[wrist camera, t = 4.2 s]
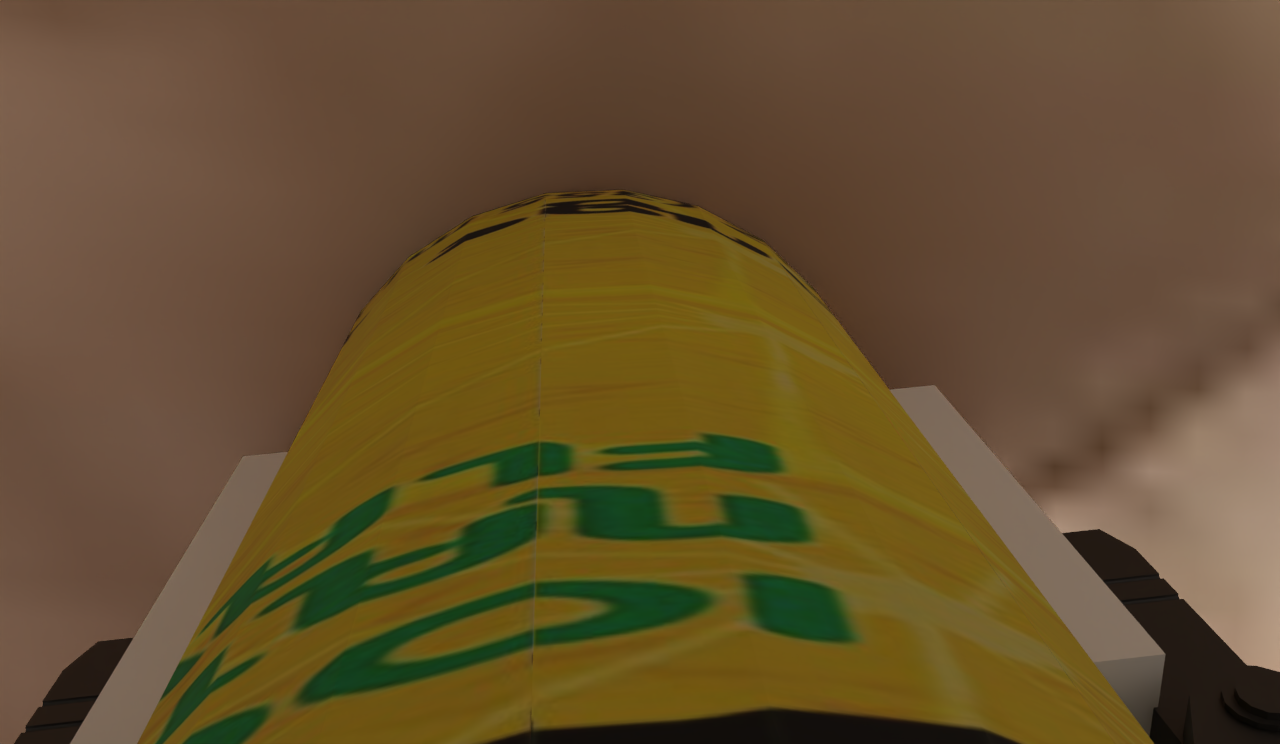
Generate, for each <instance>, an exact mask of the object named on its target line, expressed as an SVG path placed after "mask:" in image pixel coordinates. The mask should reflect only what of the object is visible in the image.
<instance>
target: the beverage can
mask: <svg viewBox="0 0 1280 744" xmlns="http://www.w3.org/2000/svg"><path fill="white" fill-rule="evenodd" d="M137 744H1154V743H1153V741H1152V740H1151V739H1150V737H1149V736H1148V735H1147V733H1146V732H1145V731H1144V729H1143V728H1142V727H1141V725H1140V724H1139V723H1138V721H1137V720H1136V719H1135V717H1134V716H1133V715H1132V713H1131V712H1130V711H1129V709H1128V708H1127V707H1126V705H1125V704H1124V703H1123V701H1122V700H1121V699H1120V697H1119V696H1118V695H1117V693H1116V692H1115V691H1114V689H1113V688H1112V687H1111V685H1110V684H1109V683H1108V681H1107V680H1106V679H1105V677H1104V676H1103V675H1102V673H1101V672H1100V671H1099V669H1098V668H1097V667H1096V665H1095V664H1094V662H1093V661H1092V660H1091V658H1090V657H1089V656H1088V654H1087V653H1086V652H1085V650H1084V649H1083V648H1082V646H1081V645H1080V644H1079V642H1078V641H1077V640H1076V638H1075V637H1074V636H1073V634H1072V633H1071V632H1070V630H1069V629H1068V628H1067V626H1066V625H1065V624H1064V622H1063V621H1062V620H1061V618H1060V617H1059V616H1058V614H1057V613H1056V612H1055V610H1054V609H1053V608H1052V606H1051V605H1050V604H1049V602H1048V601H1047V600H1046V598H1045V597H1044V596H1043V594H1042V593H1041V592H1040V590H1039V589H1038V588H1037V586H1036V585H1035V584H1034V582H1033V581H1032V580H1031V578H1030V577H1029V576H1028V574H1027V573H1026V572H1025V570H1024V569H1023V568H1022V566H1021V565H1020V564H1019V562H1018V561H1017V560H1016V558H1015V557H1014V556H1013V554H1012V553H1011V552H1010V550H1009V549H1008V548H1007V546H1006V545H1005V544H1004V542H1003V541H1002V540H1001V538H1000V537H999V536H998V534H997V533H996V532H995V530H994V529H993V528H992V526H991V525H990V524H989V522H988V521H987V520H986V518H985V517H984V516H983V514H982V513H981V512H980V510H979V509H978V508H977V506H976V505H975V504H974V502H973V501H972V500H971V498H970V497H969V496H968V494H967V493H966V492H965V490H964V489H963V488H962V486H961V485H960V484H959V482H958V481H957V480H956V478H955V477H954V476H953V474H952V473H951V472H950V470H949V469H948V468H947V466H946V465H945V464H944V462H943V461H942V459H941V458H940V457H939V455H938V454H937V453H936V451H935V450H934V449H933V447H932V446H931V445H930V443H929V442H928V441H927V439H926V438H925V437H924V435H923V434H922V433H921V431H920V430H919V429H918V427H917V426H916V425H915V423H914V422H913V421H912V419H911V418H910V417H909V415H908V414H907V413H906V411H905V410H904V409H903V407H902V406H901V405H900V403H899V402H898V401H897V399H896V398H895V397H894V395H893V394H892V393H891V391H890V390H889V389H888V387H887V386H886V385H885V383H884V382H883V381H882V379H881V378H880V377H879V375H878V374H877V373H876V371H875V370H874V369H873V367H872V366H871V365H870V363H869V362H868V361H867V359H866V358H865V357H864V355H863V354H862V353H861V351H860V350H859V349H858V347H857V346H856V345H855V343H854V342H853V341H852V339H851V338H850V337H849V335H848V334H847V333H846V331H845V330H844V329H843V327H842V326H841V325H840V323H839V322H838V321H837V319H836V318H835V317H834V315H833V314H832V313H831V311H830V310H829V309H828V307H827V306H826V305H825V303H824V302H823V301H822V299H821V298H820V297H819V295H818V294H817V293H816V291H815V290H814V289H813V287H811V286H810V285H809V284H808V283H807V282H806V281H805V280H804V279H803V278H802V277H801V276H800V275H799V274H798V273H797V272H796V271H795V270H794V269H793V268H791V267H790V266H789V265H788V264H787V263H786V262H785V261H784V260H783V259H782V258H781V257H780V256H779V255H778V254H777V253H776V252H775V251H774V250H773V249H771V248H770V247H769V246H768V245H767V244H766V243H765V242H764V241H763V240H762V239H760V238H758V237H756V236H754V235H752V234H750V233H748V232H746V231H744V230H742V229H741V228H739V227H737V226H735V225H733V224H731V223H729V222H727V221H725V220H723V219H721V218H720V217H718V216H716V215H714V214H712V213H710V212H708V211H706V210H704V209H702V208H700V207H698V206H695V205H690V204H686V203H681V202H677V201H672V200H668V199H663V198H658V197H654V196H649V195H645V194H640V193H636V192H631V191H626V190H608V191H586V192H564V193H545V194H542V195H539V196H536V197H533V198H529V199H526V200H523V201H520V202H517V203H513V204H510V205H507V206H504V207H501V208H498V209H494V210H491V211H488V212H485V213H482V214H479V215H475V216H472V217H471V218H469V219H467V220H466V221H464V222H463V223H461V224H460V225H458V226H457V227H455V228H453V229H452V230H450V231H449V232H447V233H446V234H444V235H443V236H441V237H439V238H438V239H436V240H435V241H433V242H432V243H430V244H429V245H427V246H425V247H424V248H422V249H421V250H419V251H418V252H416V253H414V254H413V255H411V256H410V257H408V259H407V260H406V261H405V262H404V263H403V264H402V265H401V267H400V268H399V269H398V270H397V271H396V272H395V273H394V274H393V276H392V277H391V278H390V279H389V280H388V281H387V282H386V283H385V285H384V286H383V287H382V288H381V289H380V290H379V291H378V293H377V294H376V295H375V296H374V297H373V298H372V299H371V300H370V302H369V303H368V304H367V305H366V306H365V307H364V308H363V309H362V311H361V312H360V314H359V316H358V318H357V320H356V322H355V324H354V326H353V328H352V329H351V331H350V333H349V335H348V337H347V339H346V341H345V343H344V345H343V347H342V349H341V351H340V353H339V355H338V357H337V358H336V360H335V362H334V364H333V366H332V368H331V370H330V372H329V374H328V376H327V378H326V380H325V382H324V384H323V386H322V387H321V389H320V391H319V393H318V395H317V397H316V399H315V401H314V403H313V405H312V407H311V409H310V411H309V413H308V415H307V416H306V418H305V420H304V422H303V424H302V426H301V428H300V430H299V432H298V434H297V436H296V438H295V440H294V442H293V443H292V445H291V447H290V449H289V451H288V453H287V455H286V457H285V459H284V461H283V463H282V465H281V467H280V469H279V471H278V472H277V474H276V476H275V478H274V480H273V482H272V484H271V486H270V488H269V490H268V492H267V494H266V496H265V498H264V500H263V501H262V503H261V505H260V507H259V509H258V511H257V513H256V515H255V517H254V519H253V521H252V523H251V525H250V527H249V528H248V530H247V532H246V534H245V536H244V538H243V540H242V542H241V544H240V546H239V548H238V550H237V552H236V554H235V556H234V557H233V559H232V561H231V563H230V565H229V567H228V569H227V571H226V573H225V575H224V577H223V579H222V581H221V583H220V585H219V586H218V588H217V590H216V592H215V594H214V596H213V598H212V600H211V602H210V604H209V606H208V608H207V610H206V612H205V613H204V615H203V617H202V619H201V621H200V623H199V625H198V627H197V629H196V631H195V633H194V635H193V637H192V639H191V641H190V642H189V644H188V646H187V648H186V650H185V652H184V654H183V656H182V658H181V660H180V662H179V664H178V666H177V668H176V670H175V671H174V673H173V675H172V677H171V679H170V681H169V683H168V685H167V687H166V689H165V691H164V693H163V695H162V697H161V698H160V700H159V702H158V704H157V706H156V708H155V710H154V712H153V714H152V716H151V718H150V720H149V722H148V724H147V726H146V727H145V729H144V731H143V733H142V735H141V737H140V739H139V741H138V743H137Z"/></svg>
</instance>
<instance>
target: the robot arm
mask: <svg viewBox="0 0 1280 744" xmlns="http://www.w3.org/2000/svg"><path fill="white" fill-rule="evenodd" d="M890 391H891V393H892V394H893V395H894V397H895V398H896V399H897V401H898V402H899V403H900V405H901V406H902V407H903V409H904V410H905V411H906V413H907V414H908V415H909V417H910V418H911V419H912V421H913V422H914V423H915V425H916V426H917V427H918V429H919V430H920V431H921V433H922V434H923V435H924V437H925V438H926V439H927V441H928V442H929V443H930V445H931V446H932V447H933V449H934V450H935V451H936V453H937V454H938V455H939V457H940V458H941V459H942V461H943V462H944V464H945V465H946V466H947V468H948V469H949V470H950V472H951V473H952V474H953V476H954V477H955V478H956V480H957V481H958V482H959V484H960V485H961V486H962V488H963V489H964V490H965V492H966V493H967V494H968V496H969V497H970V498H971V500H972V501H973V502H974V504H975V505H976V506H977V508H978V509H979V510H980V512H981V513H982V514H983V516H984V517H985V518H986V520H987V521H988V522H989V524H990V525H991V526H992V528H993V529H994V530H995V532H996V533H997V534H998V536H999V537H1000V538H1001V540H1002V541H1003V542H1004V544H1005V545H1006V546H1007V548H1008V549H1009V550H1010V552H1011V553H1012V554H1013V556H1014V557H1015V558H1016V560H1017V561H1018V562H1019V564H1020V565H1021V566H1022V568H1023V569H1024V570H1025V572H1026V573H1027V574H1028V576H1029V577H1030V578H1031V580H1032V581H1033V582H1034V584H1035V585H1036V586H1037V588H1038V589H1039V590H1040V592H1041V593H1042V594H1043V596H1044V597H1045V598H1046V600H1047V601H1048V602H1049V604H1050V605H1051V606H1052V608H1053V609H1054V610H1055V612H1056V613H1057V614H1058V616H1059V617H1060V618H1061V620H1062V621H1063V622H1064V624H1065V625H1066V626H1067V628H1068V629H1069V630H1070V632H1071V633H1072V634H1073V636H1074V637H1075V638H1076V640H1077V641H1078V642H1079V644H1080V645H1081V646H1082V648H1083V649H1084V650H1085V652H1086V653H1087V654H1088V656H1089V657H1090V658H1091V660H1092V661H1093V662H1094V664H1095V665H1096V667H1097V668H1098V669H1099V671H1100V672H1101V673H1102V675H1103V676H1104V677H1105V679H1106V680H1107V681H1108V683H1109V684H1110V685H1111V687H1112V688H1113V689H1114V691H1115V692H1116V693H1117V695H1118V696H1119V697H1120V699H1121V700H1122V701H1123V703H1124V704H1125V705H1126V707H1127V708H1128V709H1129V711H1130V712H1131V713H1132V715H1133V716H1134V717H1135V719H1136V720H1137V721H1138V723H1139V724H1140V725H1141V727H1142V728H1143V729H1144V731H1145V732H1146V733H1147V735H1148V736H1149V737H1150V739H1151V740H1152V741H1153V743H1154V744H1280V672H1277V671H1273V670H1270V669H1266V668H1262V667H1258V666H1247V665H1246V664H1245V663H1244V662H1243V661H1242V660H1241V659H1240V658H1239V657H1238V656H1237V655H1236V654H1235V653H1234V652H1233V651H1232V650H1231V648H1230V647H1229V646H1228V645H1227V644H1226V643H1225V642H1224V641H1223V640H1222V639H1221V638H1220V637H1219V636H1218V635H1217V634H1216V633H1215V632H1214V631H1213V630H1212V629H1211V628H1210V627H1209V625H1208V624H1207V623H1206V622H1205V621H1204V620H1203V619H1202V618H1201V617H1200V616H1199V615H1198V614H1197V613H1196V612H1195V611H1194V610H1193V609H1192V608H1191V607H1190V606H1189V605H1188V604H1187V602H1186V601H1185V600H1184V599H1179V597H1178V593H1177V592H1176V591H1175V590H1174V589H1173V588H1172V587H1171V586H1170V585H1169V584H1168V583H1167V582H1166V581H1165V580H1164V579H1160V578H1159V573H1158V572H1157V571H1156V570H1155V569H1154V568H1153V567H1152V566H1151V565H1150V564H1149V563H1148V562H1147V561H1146V560H1145V559H1144V558H1143V557H1142V555H1141V554H1140V553H1139V552H1138V551H1137V550H1136V549H1134V548H1133V547H1131V546H1129V545H1127V544H1125V543H1123V542H1122V541H1120V540H1118V539H1116V538H1114V537H1112V536H1111V535H1109V534H1107V533H1105V532H1103V531H1101V530H1100V529H1097V530H1088V531H1079V532H1070V533H1061V532H1060V531H1059V529H1058V528H1057V527H1056V526H1055V525H1054V524H1053V522H1052V521H1051V520H1050V519H1049V518H1048V517H1047V515H1046V514H1045V513H1044V512H1043V511H1042V510H1041V508H1040V507H1039V506H1038V505H1037V504H1036V503H1035V501H1034V500H1033V499H1032V498H1031V497H1030V496H1029V494H1028V493H1027V492H1026V491H1025V490H1024V489H1023V487H1022V486H1021V485H1020V484H1019V483H1018V482H1017V480H1016V479H1015V478H1014V477H1013V476H1012V475H1011V473H1010V472H1009V471H1008V470H1007V469H1006V468H1005V466H1004V465H1003V464H1002V463H1001V462H1000V461H999V459H998V458H997V457H996V456H995V455H994V454H993V452H992V451H991V450H990V449H989V448H988V447H987V445H986V444H985V443H984V442H983V441H982V440H981V438H980V437H979V436H978V435H977V434H976V433H975V431H974V430H973V429H972V428H971V427H970V426H969V425H968V423H967V422H966V421H965V420H964V419H963V418H962V416H961V415H960V414H959V413H958V412H957V411H956V409H955V408H954V407H953V406H952V405H951V404H950V402H949V401H948V400H947V399H946V398H945V397H944V395H943V394H942V393H941V392H940V391H939V390H938V388H937V387H936V386H935V385H930V386H920V387H911V388H901V389H891V390H890ZM287 453H288V452H279V453H270V454H260V455H250V456H243V457H242V458H241V460H240V462H239V463H238V465H237V467H236V468H235V470H234V472H233V473H232V475H231V477H230V478H229V480H228V482H227V483H226V485H225V487H224V488H223V490H222V492H221V493H220V495H219V497H218V498H217V500H216V502H215V503H214V505H213V507H212V508H211V510H210V512H209V513H208V515H207V517H206V518H205V520H204V522H203V523H202V525H201V527H200V528H199V530H198V532H197V533H196V535H195V537H194V538H193V540H192V542H191V543H190V545H189V547H188V548H187V550H186V552H185V553H184V555H183V557H182V558H181V560H180V562H179V563H178V565H177V567H176V568H175V570H174V572H173V573H172V575H171V577H170V578H169V580H168V582H167V583H166V585H165V587H164V588H163V590H162V592H161V593H160V595H159V597H158V598H157V600H156V602H155V603H154V605H153V607H152V608H151V610H150V612H149V613H148V615H147V616H146V618H145V620H144V621H143V623H142V625H141V626H140V628H139V630H138V631H137V633H136V635H135V636H134V638H127V639H118V640H109V641H100V642H97V643H96V644H95V645H94V646H92V647H91V648H90V649H89V650H87V651H86V652H85V653H84V654H83V655H81V656H80V657H79V658H78V659H76V660H75V661H74V662H73V663H72V664H70V665H69V666H68V667H67V668H65V669H64V670H63V671H62V673H61V674H60V676H59V677H58V679H57V680H56V682H55V683H54V685H53V686H52V688H51V689H50V691H49V692H48V694H47V695H46V697H45V698H44V700H43V706H42V707H38V709H37V710H36V712H35V713H34V715H33V716H32V718H31V719H30V721H29V722H28V724H27V725H26V732H25V733H21V734H20V736H19V737H18V739H17V740H16V742H15V743H14V744H137V743H138V741H139V739H140V737H141V735H142V733H143V731H144V729H145V727H146V726H147V724H148V722H149V720H150V718H151V716H152V714H153V712H154V710H155V708H156V706H157V704H158V702H159V700H160V698H161V697H162V695H163V693H164V691H165V689H166V687H167V685H168V683H169V681H170V679H171V677H172V675H173V673H174V671H175V670H176V668H177V666H178V664H179V662H180V660H181V658H182V656H183V654H184V652H185V650H186V648H187V646H188V644H189V642H190V641H191V639H192V637H193V635H194V633H195V631H196V629H197V627H198V625H199V623H200V621H201V619H202V617H203V615H204V613H205V612H206V610H207V608H208V606H209V604H210V602H211V600H212V598H213V596H214V594H215V592H216V590H217V588H218V586H219V585H220V583H221V581H222V579H223V577H224V575H225V573H226V571H227V569H228V567H229V565H230V563H231V561H232V559H233V557H234V556H235V554H236V552H237V550H238V548H239V546H240V544H241V542H242V540H243V538H244V536H245V534H246V532H247V530H248V528H249V527H250V525H251V523H252V521H253V519H254V517H255V515H256V513H257V511H258V509H259V507H260V505H261V503H262V501H263V500H264V498H265V496H266V494H267V492H268V490H269V488H270V486H271V484H272V482H273V480H274V478H275V476H276V474H277V472H278V471H279V469H280V467H281V465H282V463H283V461H284V459H285V457H286V455H287Z"/></svg>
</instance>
